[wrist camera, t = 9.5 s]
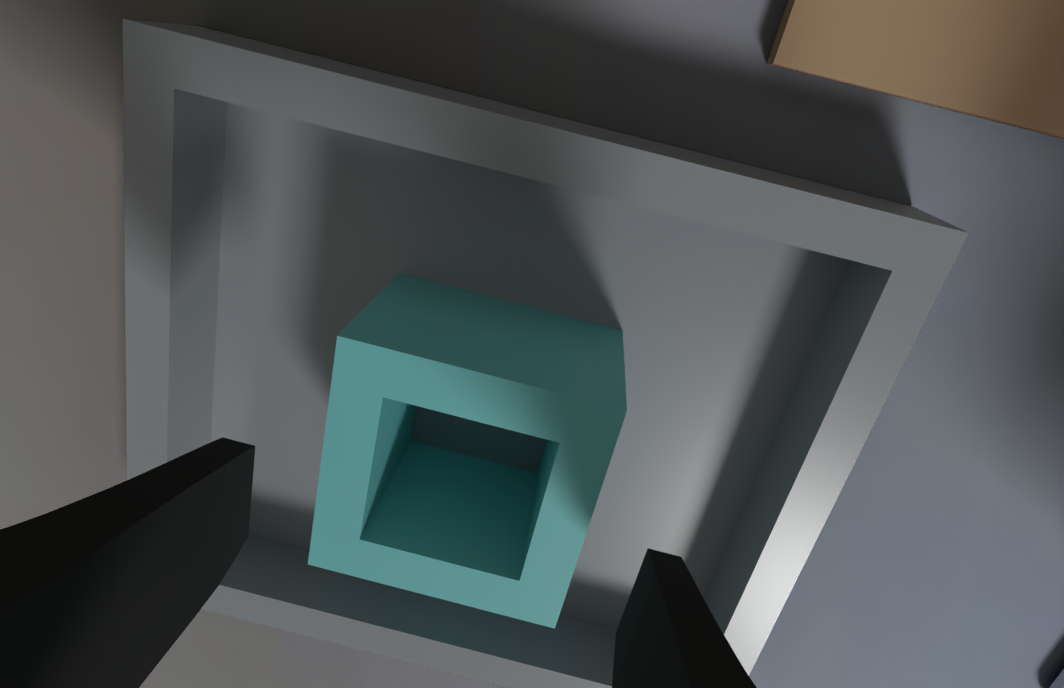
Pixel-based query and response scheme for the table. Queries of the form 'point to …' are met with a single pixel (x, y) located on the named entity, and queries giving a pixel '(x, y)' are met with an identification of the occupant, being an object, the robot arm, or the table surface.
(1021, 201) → the table surface
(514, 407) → the teal hollow block
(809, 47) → the stake board
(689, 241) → the tray
